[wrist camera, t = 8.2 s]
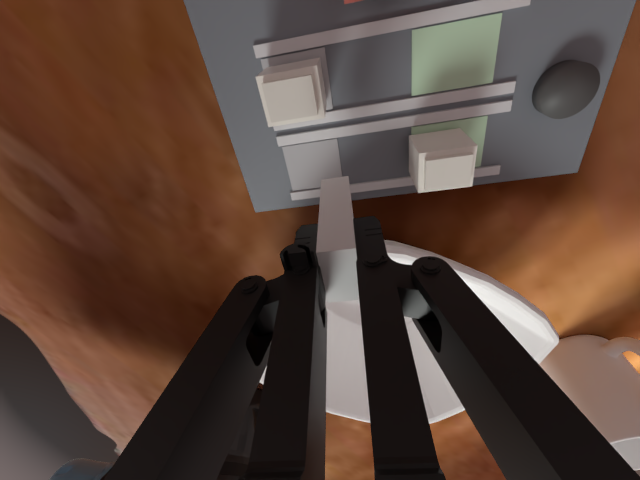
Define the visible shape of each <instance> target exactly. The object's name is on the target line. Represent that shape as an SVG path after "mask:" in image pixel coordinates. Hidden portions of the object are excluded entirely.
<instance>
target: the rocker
mask: <svg viewBox="0 0 640 480" xmlns="http://www.w3.org/2000/svg"><path fill="white" fill-rule="evenodd" d="M358 1H363V0H344V4H349V3H353V2H358Z"/></svg>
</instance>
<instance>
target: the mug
mask: <svg viewBox="0 0 640 480" xmlns="http://www.w3.org/2000/svg"><path fill="white" fill-rule="evenodd" d="M625 351H632V352H634V353H636V354H637V355H639V356H640V340H638V339H635V338H631V337H618V338H614V339H611V340H607V339H605V338H603V337H599V336H595V335H575V336H570V337H566V338H563V339H560V340H559V343H558V344H557V345H556V346H555V347H554V349H553V350H552V351H551V352H550V353H549V354H548V355H547V356H546V357H545V358H544V359H543V360H542V362H541V363H540V364H539V365H540V366H541V367H542V369H543V370H544V371H545V372H546V373H547V374H548V375H549V376H550V377H551V379H552V380H553V381H554V382H555V383H556V384H557V385H558V386H559V387H560V389H561V390H562V391H563V392H564V393H565V394H566V395H567V396H568V397H569V399H570V400H571V401H572V402H573V403H574V404H575V405H576V406H577V407H578V409H579V410H580V411H581V412H582V413H583V414H584V415H585V416H586V417H587V419H588V420H589V421H590V422H591V423H592V424H593V425H594V426H595V427H596V429H597V430H598V431H599V432H600V433H601V434H602V435H603V436H604V437H605V439H606V440H607V441H608V442H609V443H610V444H611V445H612V446H613V447H614V449H615V450H616V451H617V452H618V453H619V454H620V455H621V456H622V458H623V459H624V460H625V461H626V462H627V463H628V464H629V465H630V466H631V468H632V469H633V470H640V374H639V373H638V372H637V371H636V370H635V368H634V367H633V366H632V365H631V363H630V362H629V361H628V360H627V359H626V357H625V356H624V355H623V354H622V353H623V352H625Z"/></svg>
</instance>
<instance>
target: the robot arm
mask: <svg viewBox="0 0 640 480" xmlns="http://www.w3.org/2000/svg"><path fill="white" fill-rule="evenodd" d="M280 258H281V261H282V264H283V267H284V274H283V275H281V276H280V277H278V278H275V279H272V280H269V281H267V282H266V281H265V279H264V278H263V277H261V276H257V275H256V276H249V277H246V278H244V279H242V280H240V281H239V282H238V283H237V284H236V285H235V286H234V288H233V289H232V291H231V292H230V294H229V295H228V296H227V298H226V299H225V301H224V302H223V304H222V305H221V307H220V308H219V310H218V311H217V313H216V314H215V316H214V317H213V319H212V320H211V322H210V323H209V325H208V326H207V328H206V329H205V331H204V332H203V334H202V335H201V336H200V338H199V339H198V341H197V342H196V344H195V345H194V347H193V348H192V350H191V351H190V353H189V354H188V356H187V357H186V359H185V360H184V362H183V363H182V365H181V366H180V368H179V369H178V371H177V372H176V374H175V375H174V376H173V378H172V379H171V381H170V382H169V384H168V385H167V387H166V388H165V390H164V391H163V393H162V394H161V396H160V397H159V399H158V400H157V402H156V403H155V405H154V406H153V408H152V409H151V411H150V412H149V413H148V415H147V416H146V418H145V419H144V421H143V422H142V424H141V425H140V427H139V428H138V430H137V431H136V433H135V434H134V436H133V437H132V439H131V440H130V442H129V443H128V445H127V446H126V448H125V449H124V451H123V452H122V453H121V455H120V456H119V458H118V459H117V461H116V462H110V463H105V462H99V461H94V460H89V459H74V460H71V461H69V462H67V463H66V464H64V465H63V466H62V467H60V468H59V469H58V470H57V471H56V472H55V473H54V474H53V476H52V477H51V478H50V479H49V480H325V429H326V364H327V309H326V305H325V301H326V300H327V303H331V302H342V301H352V300H359V302H360V313H361V324H362V335H363V346H364V357H365V368H366V379H367V390H368V402H369V413H370V424H371V435H372V446H373V457H374V470H375V480H446V479H445V476H444V473H443V472H442V470H441V468H440V466H439V463H438V459H437V455H436V451H435V447H434V443H433V438H432V434H431V430H430V426H429V421H428V417H427V413H426V409H425V404H424V400H423V396H422V392H421V387H420V383H419V379H418V375H417V370H416V366H415V362H414V358H413V353H412V349H411V345H410V341H409V336H408V332H407V328H406V324H405V319H404V316H405V317H411V318H412V320H413V322H414V324H415V326H416V327H417V329H418V331H419V333H420V334H421V336H422V338H423V339H424V341H425V343H426V344H427V346H428V348H429V349H430V351H431V353H432V354H433V356H434V358H435V360H436V361H437V363H438V365H439V366H440V368H441V370H442V371H443V373H444V375H445V376H446V378H447V380H448V381H449V383H450V385H451V387H452V388H453V390H454V392H455V393H456V395H457V397H458V398H459V400H460V402H461V403H462V405H463V407H464V408H465V410H466V412H467V414H468V415H469V417H470V419H471V420H472V422H473V424H474V425H475V427H476V429H477V430H478V432H479V434H480V436H481V437H482V439H483V441H484V442H485V444H486V446H487V447H488V449H489V451H490V452H491V454H492V456H493V457H494V459H495V461H496V463H497V464H498V466H499V468H500V469H501V471H502V473H503V474H504V476H505V478H506V479H507V480H640V476H639V475H638V474H637V473H636V472H635V471H634V470H633V469H632V468H631V466H630V465H629V464H628V463H627V462H626V461H625V460H624V459H623V458H622V456H621V455H620V454H619V453H618V452H617V451H616V450H615V449H614V447H613V446H612V445H611V444H610V443H609V442H608V441H607V440H606V439H605V437H604V436H603V435H602V434H601V433H600V432H599V431H598V430H597V429H596V427H595V426H594V425H593V424H592V423H591V422H590V421H589V420H588V419H587V417H586V416H585V415H584V414H583V413H582V412H581V411H580V410H579V409H578V407H577V406H576V405H575V404H574V403H573V402H572V401H571V400H570V399H569V397H568V396H567V395H566V394H565V393H564V392H563V391H562V390H561V389H560V387H559V386H558V385H557V384H556V383H555V382H554V381H553V380H552V379H551V377H550V376H549V375H548V374H547V373H546V372H545V371H544V370H543V369H542V367H541V366H540V365H539V364H538V363H537V362H536V361H535V360H534V359H533V357H532V356H531V355H530V354H529V353H528V352H527V351H526V350H525V349H524V347H523V346H522V345H521V344H520V343H519V342H518V341H517V340H516V339H515V337H514V336H513V335H512V334H511V333H510V332H509V331H508V330H507V329H506V327H505V326H504V325H503V324H502V323H501V322H500V321H499V320H498V319H497V317H496V316H495V315H494V314H493V313H492V312H491V311H490V310H489V309H488V307H487V306H486V305H485V304H484V303H483V302H482V301H481V300H480V299H479V297H478V296H477V295H476V294H475V293H474V292H473V291H472V290H471V289H470V287H469V286H468V285H467V284H466V283H465V282H464V281H463V280H462V278H461V277H460V276H459V275H458V274H457V273H456V272H455V271H454V270H453V268H452V267H451V266H450V265H449V264H448V263H447V262H446V261H444V260H443V259H440V258H438V257H432V256H426V257H421V258H418V259H416V260H415V261H414V262H413V263H412V265H407V264H401V263H398V262H395V261H393V260H392V259H391V258H390V257H389V256H388V254H387V251H386V246H385V242H384V238H383V234H382V229H381V225H380V221H379V220H378V219H377V218H376V217H375V216H369V217H361V218H354V217H353V209H352V201H351V193H350V185H349V176H344V177H337V178H330V179H323V180H321V190H320V204H319V218H318V224H310V225H302V226H301V227H300V228H299V229H298V230H297V232H296V236H295V242H294V244H291V245H289V246H287V247H286V248H284V249H283V250H282V251H281V253H280ZM266 366H267V367H266ZM265 368H266V373H265V378H264V383H263V389H262V390H257V386H258V384H259V382H260V380H261V377H262V375H263V373H264V370H265Z"/></svg>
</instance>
